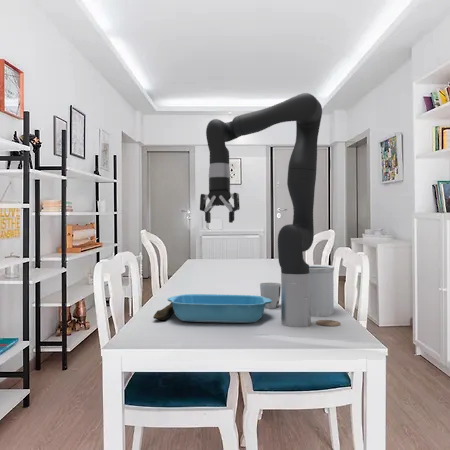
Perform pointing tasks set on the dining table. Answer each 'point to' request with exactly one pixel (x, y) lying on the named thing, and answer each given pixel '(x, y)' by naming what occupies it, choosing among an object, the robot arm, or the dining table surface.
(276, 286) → the cup
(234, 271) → the dining table surface
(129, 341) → the dining table surface
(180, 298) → the casserole dish
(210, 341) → the dining table surface
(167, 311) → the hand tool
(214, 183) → the robot arm
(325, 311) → the utensil holder
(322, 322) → the cork coaster
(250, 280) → the dining table surface
